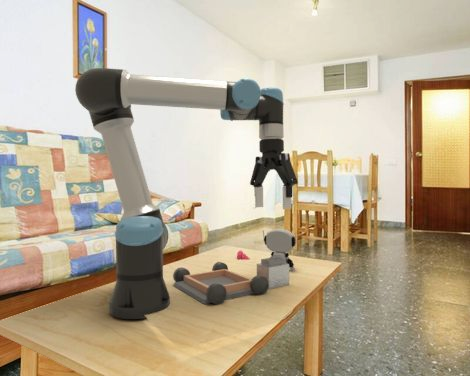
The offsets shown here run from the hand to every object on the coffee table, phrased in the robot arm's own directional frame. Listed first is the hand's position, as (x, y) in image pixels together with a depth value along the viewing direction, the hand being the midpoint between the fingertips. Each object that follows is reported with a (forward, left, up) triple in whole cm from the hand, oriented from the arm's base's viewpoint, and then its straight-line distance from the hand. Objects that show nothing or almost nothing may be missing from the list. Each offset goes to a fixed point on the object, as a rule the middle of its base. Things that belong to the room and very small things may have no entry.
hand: (272, 208), depth 107 cm
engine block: (0, 0, -24) cm, 24 cm away
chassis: (-16, +6, -24) cm, 29 cm away
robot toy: (+14, +13, -24) cm, 31 cm away
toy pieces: (+14, +32, -24) cm, 42 cm away
